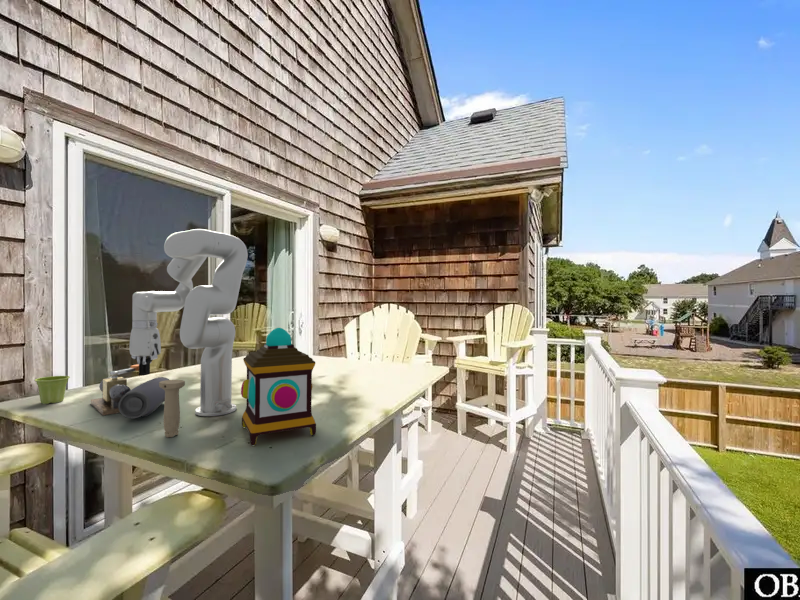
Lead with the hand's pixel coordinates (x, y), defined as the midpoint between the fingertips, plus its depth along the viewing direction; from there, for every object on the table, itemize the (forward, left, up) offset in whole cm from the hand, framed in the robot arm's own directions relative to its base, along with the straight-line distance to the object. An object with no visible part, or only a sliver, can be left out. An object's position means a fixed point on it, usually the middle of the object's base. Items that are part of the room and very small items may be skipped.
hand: (144, 374), depth 142 cm
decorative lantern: (-66, -17, -10) cm, 68 cm away
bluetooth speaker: (-18, +3, -10) cm, 20 cm away
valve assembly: (-2, +9, -10) cm, 13 cm away
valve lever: (+2, +4, +1) cm, 5 cm away
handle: (-48, +5, -10) cm, 49 cm away
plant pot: (+21, +23, -10) cm, 33 cm away
